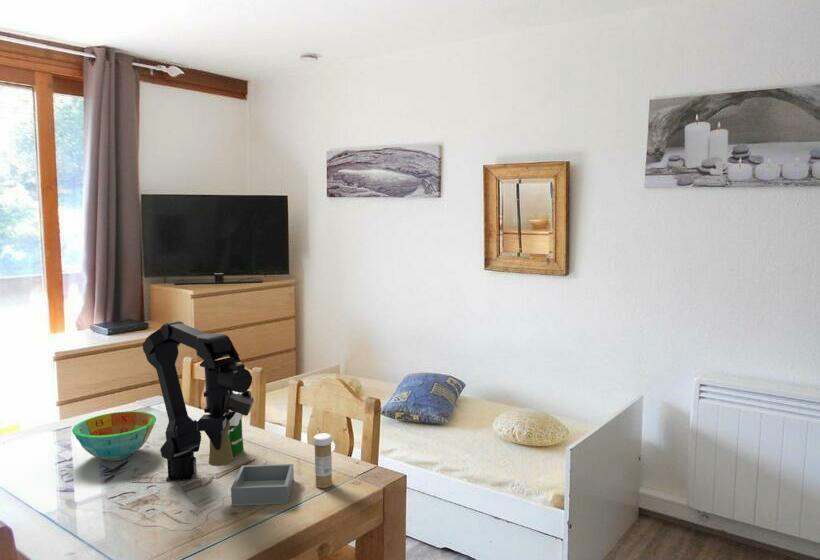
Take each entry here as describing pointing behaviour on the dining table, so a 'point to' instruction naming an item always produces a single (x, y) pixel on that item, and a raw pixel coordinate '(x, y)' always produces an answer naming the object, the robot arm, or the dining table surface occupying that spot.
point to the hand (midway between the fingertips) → (220, 446)
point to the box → (262, 485)
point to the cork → (222, 450)
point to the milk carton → (235, 432)
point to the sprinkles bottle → (323, 460)
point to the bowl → (114, 434)
